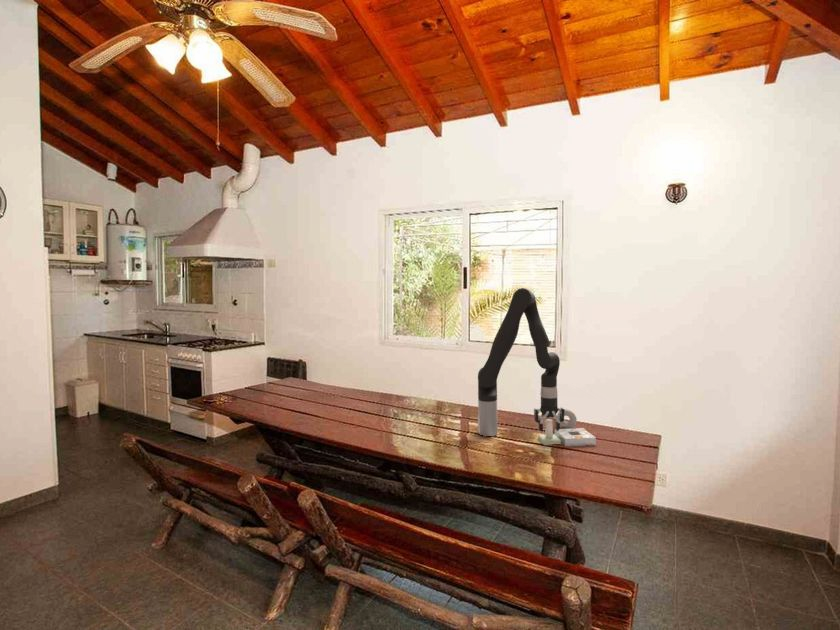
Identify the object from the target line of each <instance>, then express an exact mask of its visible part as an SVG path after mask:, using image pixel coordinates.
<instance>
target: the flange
mask: <svg viewBox="0 0 840 630" xmlns="http://www.w3.org/2000/svg"><path fill="white" fill-rule="evenodd" d="M554 434H555V435H556V436H557V437H558V438H559V439H560V440H561V442H562V443H563V444H564V445H565V446H564V445H563V444H562V443H561V444H562V445H563V446H564V447H585V446H586V445H589V446H596V445H597V444H596V443H597V442H596V441H597V438H596V436H594V435H593V434H592V433H590V432H589V431H587V430H586V429H585V428H584V427H578V428H577V427H576V428H574V427H573V428H570V429H566V428H560V429H559V431H556V428H555V429H554ZM586 447H587V446H586Z"/></svg>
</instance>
